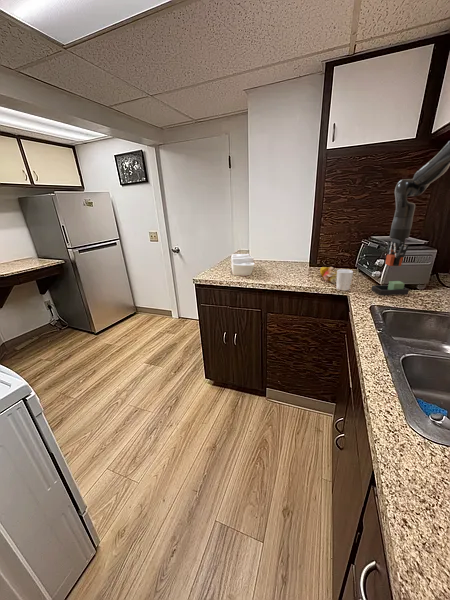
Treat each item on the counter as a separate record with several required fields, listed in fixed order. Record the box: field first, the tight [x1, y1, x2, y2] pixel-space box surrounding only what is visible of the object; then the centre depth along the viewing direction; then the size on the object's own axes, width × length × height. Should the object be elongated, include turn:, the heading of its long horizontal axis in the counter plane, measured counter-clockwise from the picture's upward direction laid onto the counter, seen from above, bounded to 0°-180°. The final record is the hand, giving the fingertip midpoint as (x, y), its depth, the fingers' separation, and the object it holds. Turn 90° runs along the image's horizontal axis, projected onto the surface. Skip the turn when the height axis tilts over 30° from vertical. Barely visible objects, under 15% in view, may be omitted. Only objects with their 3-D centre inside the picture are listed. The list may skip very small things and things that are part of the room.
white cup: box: [335, 268, 354, 292], centre depth 133 cm, size 8×8×10 cm
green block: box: [387, 280, 406, 290], centre depth 127 cm, size 5×4×5 cm
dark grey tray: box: [370, 284, 410, 296], centre depth 127 cm, size 14×8×2 cm, turn 91°
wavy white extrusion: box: [230, 253, 256, 276], centre depth 179 cm, size 35×16×10 cm, turn 178°
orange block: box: [384, 254, 404, 267], centre depth 118 cm, size 5×4×5 cm
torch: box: [319, 266, 337, 285], centre depth 152 cm, size 8×8×25 cm
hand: (393, 264), depth 118 cm, fingers closed on orange block, 4 cm apart
